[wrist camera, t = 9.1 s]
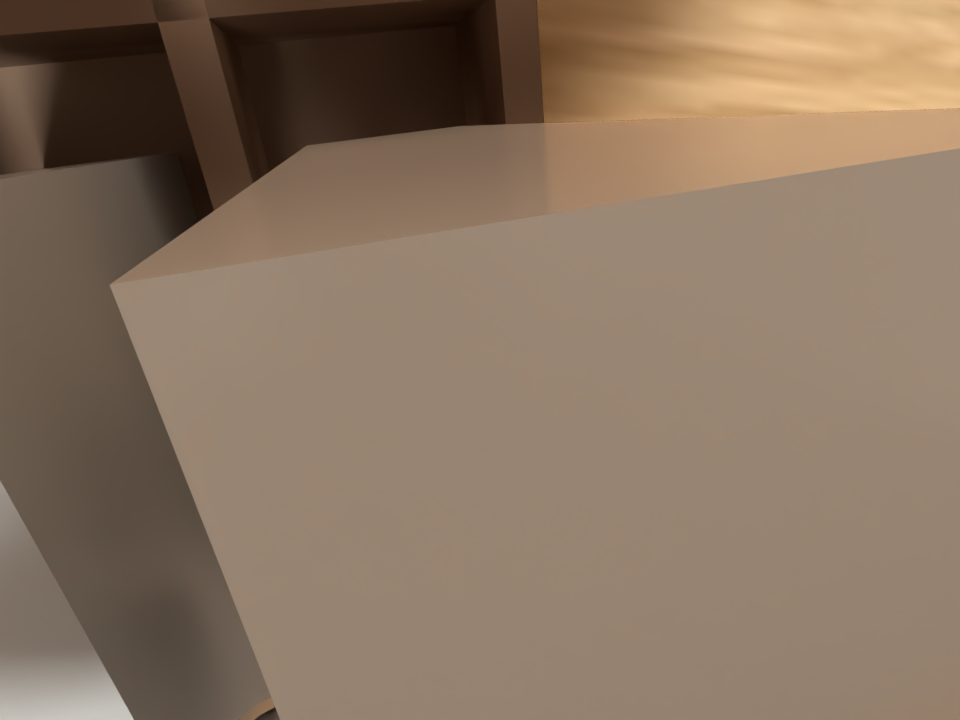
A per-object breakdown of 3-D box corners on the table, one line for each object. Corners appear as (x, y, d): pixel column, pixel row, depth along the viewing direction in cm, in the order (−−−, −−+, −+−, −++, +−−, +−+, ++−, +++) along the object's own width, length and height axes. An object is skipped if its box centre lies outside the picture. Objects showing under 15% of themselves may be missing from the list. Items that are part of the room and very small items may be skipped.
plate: (307, 145, 10) (114, 283, 1) (460, 125, 10) (1279, 97, 1) (414, 629, 15) (548, 1404, 6) (515, 600, 15) (783, 1269, 6)
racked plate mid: (43, 168, 12) (-675, 270, 4) (177, 151, 13) (-154, 204, 4) (209, 573, 17) (84, 1050, 8) (301, 550, 18) (277, 974, 9)
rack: (-436, 67, 11) (-889, 31, 7) (473, -8, 14) (533, -62, 10) (-11, 681, 18) (-108, 841, 14) (527, 536, 21) (574, 631, 17)
